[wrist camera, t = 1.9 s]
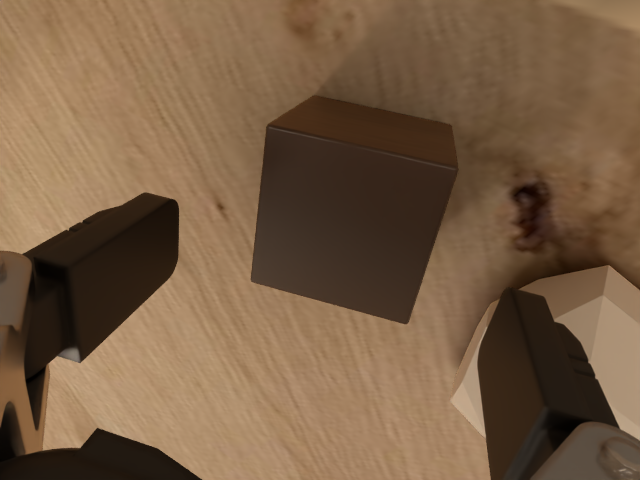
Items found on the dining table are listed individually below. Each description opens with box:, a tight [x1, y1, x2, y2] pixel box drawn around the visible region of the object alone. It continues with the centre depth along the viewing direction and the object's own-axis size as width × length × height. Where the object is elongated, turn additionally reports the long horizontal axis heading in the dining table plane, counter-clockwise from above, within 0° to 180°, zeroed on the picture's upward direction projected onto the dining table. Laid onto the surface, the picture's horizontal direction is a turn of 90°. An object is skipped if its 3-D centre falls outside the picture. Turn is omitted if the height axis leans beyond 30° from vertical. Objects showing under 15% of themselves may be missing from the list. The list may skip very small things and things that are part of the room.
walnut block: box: [251, 95, 458, 324], centre depth 14 cm, size 5×5×5 cm
